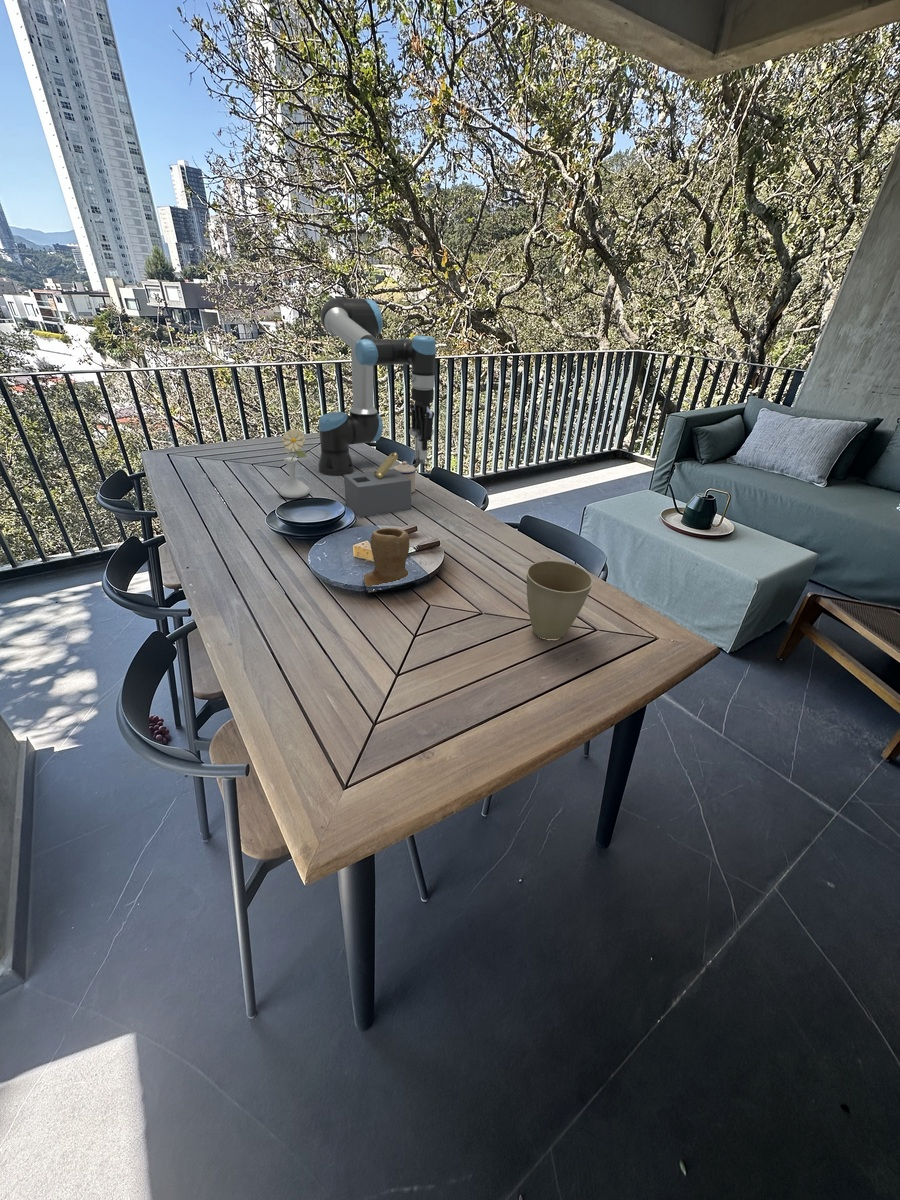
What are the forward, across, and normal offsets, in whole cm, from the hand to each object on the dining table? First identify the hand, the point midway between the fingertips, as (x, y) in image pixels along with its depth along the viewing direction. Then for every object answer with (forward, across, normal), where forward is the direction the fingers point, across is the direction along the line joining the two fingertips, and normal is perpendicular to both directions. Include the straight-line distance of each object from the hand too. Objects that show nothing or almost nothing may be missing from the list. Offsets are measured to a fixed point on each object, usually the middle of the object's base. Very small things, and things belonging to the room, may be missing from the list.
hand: (420, 457), depth 180 cm
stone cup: (+17, +50, -36) cm, 64 cm away
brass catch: (+3, -3, -12) cm, 12 cm away
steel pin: (+2, 0, 0) cm, 2 cm away
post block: (+18, -2, -16) cm, 24 cm away
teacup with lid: (+18, -14, -1) cm, 23 cm away
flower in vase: (+18, -24, -40) cm, 50 cm away
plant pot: (+16, +89, -10) cm, 91 cm away
